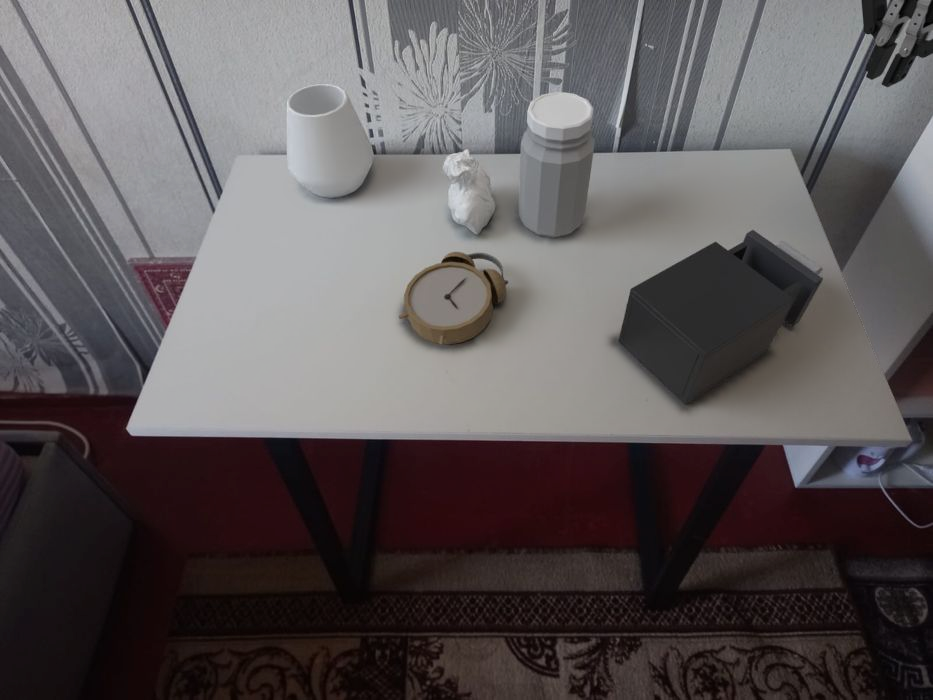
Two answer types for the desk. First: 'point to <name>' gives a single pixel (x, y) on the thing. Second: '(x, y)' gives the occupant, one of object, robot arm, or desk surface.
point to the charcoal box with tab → (702, 320)
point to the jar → (556, 164)
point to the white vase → (326, 141)
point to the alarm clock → (453, 298)
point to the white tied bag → (468, 191)
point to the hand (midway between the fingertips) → (881, 79)
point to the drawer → (782, 270)
